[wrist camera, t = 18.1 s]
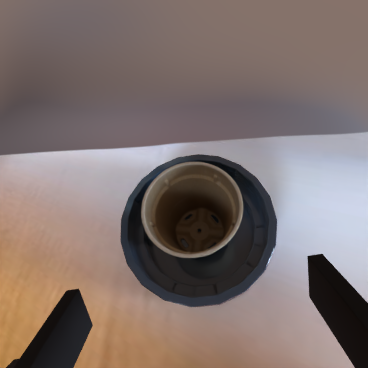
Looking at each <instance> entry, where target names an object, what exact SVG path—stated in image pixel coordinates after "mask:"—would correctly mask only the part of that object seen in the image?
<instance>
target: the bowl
mask: <svg viewBox="0 0 368 368" xmlns="http://www.w3.org/2000/svg"><path fill="white" fill-rule="evenodd" d="M185 162H204V163H208V164H211V165H214V166H216V167H218V168H220V169H222V170H223V171H225V172H226V173H227V174H228V175H229V176H231V178H232V179H233V180H234V181H235V182H236V184H237V186H238V188H239V190H240V192H241V195H242V200H243V215H242V219H241V223H240V225H239V228H238V230H237V231H236V233H235V235H234V236H233V237H232V238H231V240H230V241H229V242H228V243H227V244H226V245H225V246H223V247H222V248H221V249H219V250H217V251H216V252H214V253H213V254H211V255H209V256H205V257H197V258H182V257H177V256H173V255H171V254H168V253H166V252H164V251H163V250H161V249H160V248H159V247H157V246H156V245H155V244H154V243H153V242H152V241H151V239H150V238H149V237H148V235H147V233H146V231H145V229H144V226H143V223H142V218H141V208H142V201H143V198H144V195H145V192H146V190H147V189H148V187H149V185H150V184H151V183H152V181H153V180H154V179H155V178H156V177H157V176H158V175H159V174H160V173H161V172H163V171H165V170H166V169H168V168H170V167H172V166H174V165H177V164H180V163H185ZM191 216H192V215H189V216H187V217H186V218H185V220H187V219H190V217H191ZM211 217H212V218H213V219H214V220H215V221H216V223H218V222H219V221H218V219H217V218H216V216H214V215H211ZM276 231H277V219H276V215H275V212H274V208H273V205H272V201H271V198H270V196H269V195H268V193H267V192H266V190H265V189H264V187H263V186H262V185H261V183H260V182H259V180H258V179H257V178H256V177H255V176H254V175H252V174H251V173H250V172H248V171H247V170H246V169H244V168H243V167H242V166H241V165H239V164H237V163H234V162H232V161H229V160H227V159H224V158H221V157H219V156H209V155H199V154H198V155H191V156H185V157H179V158H176V159H173V160H171V161H169V162H167V163H165V164H162V165H160V166H158V167H157V168H155V169H154V170H153V171H152V172H150V173H149V174H148V175H147V176H146V177H144V178H143V179H142V180H141V181H140V183H139V184H138V185H137V187H136V188H135V190H134V191H133V192H132V194H131V195H130V197H129V198H128V201H127V204H126V207H125V210H124V212H123V215H122V219H121V244H122V248H123V251H124V255H125V258H126V262H127V264H128V266H129V267H130V269H131V270H132V272H133V273H134V274H135V276H136V277H137V279H138V280H139V281H140V283H141V284H142V285H143V286H144V287H146V288H147V289H148V290H150V291H151V292H153V293H154V294H156V295H157V296H159V297H160V298H162V299H163V300H165V301H169V302H173V303H177V304H181V305H185V306H189V307H204V306H213V305H220V304H223V303H225V302H227V301H229V300H231V299H233V298H235V297H237V296H239V295H241V294H243V293H244V292H245V291H247V289H248V288H249V287H250V286H251V285H252V284H253V283H254V282H255V281H256V280H257V279H258V278H259V277H260V276H261V275H262V274H263V273H264V271H265V270H266V268H267V265H268V263H269V260H270V258H271V256H272V253H273V251H274V249H275V246H276ZM198 232H201V229H198ZM181 242H182V244H183V246H184V247H186V248H187V247H188V246H189V245H188V244H187V243H186V241H185V240H184V239H181ZM215 245H216V243H214V244H213V245H211V246H210V247H208V249H209V248H211V247H213V246H215Z"/></svg>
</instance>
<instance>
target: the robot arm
mask: <svg viewBox="0 0 368 368" xmlns="http://www.w3.org/2000/svg"><path fill="white" fill-rule="evenodd" d="M308 275H309V297H310V299H311V300H312V302H313V303H314V305H315V306H316V308H317V309H318V311H319V313H320V314H321V316H322V317H323V319H324V320H325V322H326V323H327V325H328V326H329V328H330V330H331V331H332V333H333V334H334V336H335V337H336V339H337V340H338V342H339V344H340V345H341V347H342V348H343V350H344V351H345V353H346V354H347V356H348V358H349V359H350V361H351V362H352V364H353V365H354V367H355V368H368V303H367V302H366V301H365V300H364V299H363V298H362V296H361V295H360V294H359V293H358V292H357V291H356V290H355V289H354V288H353V287H352V286H351V285H350V284H349V282H348V281H347V280H346V279H345V278H344V277H343V276H342V275H341V274H340V273H339V272H338V271H337V269H336V268H335V267H334V266H333V265H332V264H331V263H330V262H329V261H328V260H327V259H326V258H325V257H324V255H323V254H318V255H311V256H308ZM92 326H93V325H92V322H91V319H90V317H89V314H88V311H87V309H86V306H85V304H84V301H83V298H82V296H81V293H80V291H79V289H74V290H67V291H66V292H65V294H64V295H63V296H62V298H61V299H60V301H59V302H58V304H57V305H56V307H55V308H54V310H53V311H52V312H51V314H50V315H49V317H48V318H47V320H46V321H45V323H44V324H43V326H42V327H41V328H40V330H39V331H38V333H37V334H36V336H35V337H34V339H33V340H32V342H31V343H30V344H29V346H28V347H27V349H26V350H25V352H24V353H23V355H22V356H21V358H20V359H15V360H13V361H12V362H11V363H10V364H9V365H8V366H7V367H6V368H73V367H74V365H75V363H76V361H77V359H78V356H79V354H80V352H81V350H82V348H83V345H84V343H85V341H86V339H87V337H88V334H89V332H90V330H91V328H92Z"/></svg>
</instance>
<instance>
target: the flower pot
mask: <svg viewBox="0 0 368 368" xmlns="http://www.w3.org/2000/svg"><path fill="white" fill-rule="evenodd" d="M189 215H192V216H191V217H190V219H187V220H185V218H186V217H187V216H189ZM211 215H214V216H216V218H217V219H218V221H219V222H218V223H216V221H215V220H214V219H213V218H212V217H211ZM242 215H243V200H242V195H241V192H240V190H239V188H238V186H237V184H236V182H235V181H234V180H233V179H232V178H231V176H229V175H228V174H227V173H226V172H225V171H223V170H222V169H220V168H218V167H216V166H214V165H211V164H208V163H204V162H185V163H180V164H177V165H174V166H172V167H170V168H168V169H166V170H165V171H163V172H161V173H160V174H159V175H158V176H157V177H156V178H155V179H154V180H153V181H152V183H151V184H150V185H149V187H148V189H147V190H146V192H145V195H144V198H143V201H142V208H141V218H142V223H143V226H144V229H145V231H146V233H147V235H148V237H149V238H150V239H151V241H152V242H153V243H154V244H155V245H156V246H157V247H159V248H160V249H161V250H163V251H164V252H166V253H168V254H171V255H173V256H177V257H182V258H197V257H205V256H209V255H211V254H213V253H214V252H216V251H217V250H219V249H221V248H222V247H223V246H225V245H226V244H227V243H228V242H229V241H230V240H231V238H232V237H233V236H234V235H235V233H236V231H237V230H238V228H239V225H240V223H241V219H242ZM198 229H201V232H198ZM181 239H184V240H185V241H186V243H187V244H188V245H189V246H188V247H187V248H186V247H184V246H183V244H182V242H181ZM214 243H216V245H215V246H213V247H211V248H209V249H208V247H210V246H211V245H213V244H214Z"/></svg>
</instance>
